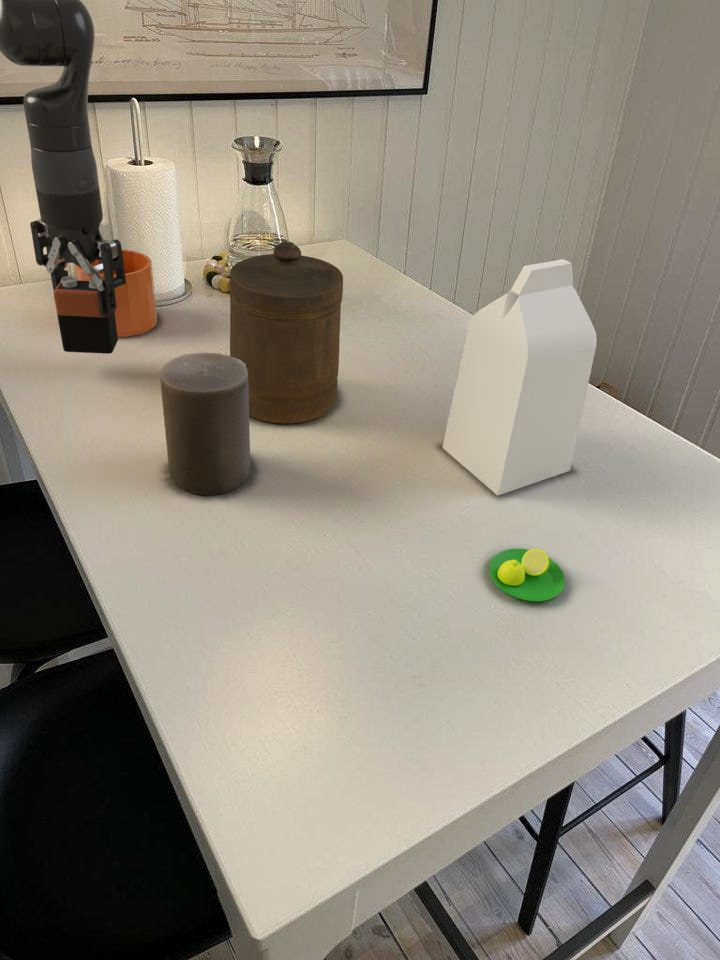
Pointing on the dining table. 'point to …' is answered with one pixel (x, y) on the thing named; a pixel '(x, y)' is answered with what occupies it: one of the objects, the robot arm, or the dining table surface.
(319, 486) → the dining table surface
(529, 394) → the milk
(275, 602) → the dining table surface
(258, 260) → the wooden container
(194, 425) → the pillar candle
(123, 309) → the pot
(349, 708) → the dining table surface
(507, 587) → the plate of lemons
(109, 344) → the battery
